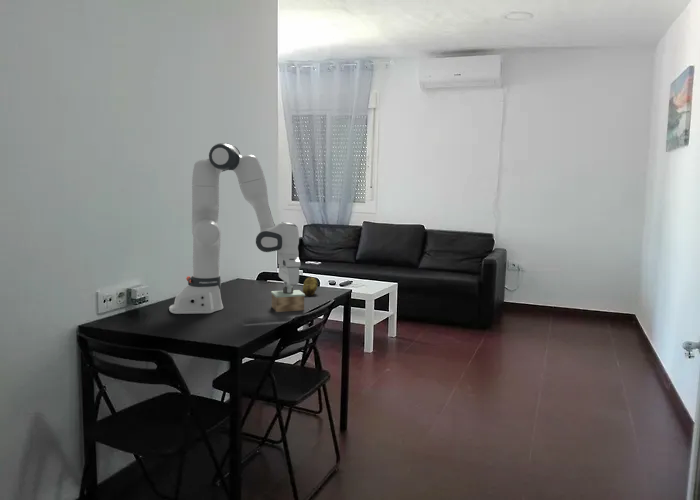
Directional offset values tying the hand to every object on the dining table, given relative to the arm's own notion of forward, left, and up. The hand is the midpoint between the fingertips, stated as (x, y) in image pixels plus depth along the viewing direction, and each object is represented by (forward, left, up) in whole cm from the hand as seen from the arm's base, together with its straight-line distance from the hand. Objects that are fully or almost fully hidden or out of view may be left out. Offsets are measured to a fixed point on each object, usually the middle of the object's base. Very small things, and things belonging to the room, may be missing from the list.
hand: (287, 291), depth 252 cm
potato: (+19, +30, -8) cm, 37 cm away
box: (0, 0, -8) cm, 8 cm away
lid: (0, 0, -3) cm, 3 cm away
